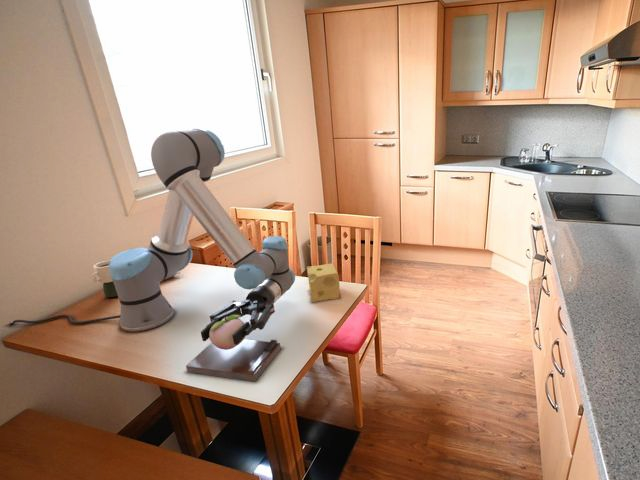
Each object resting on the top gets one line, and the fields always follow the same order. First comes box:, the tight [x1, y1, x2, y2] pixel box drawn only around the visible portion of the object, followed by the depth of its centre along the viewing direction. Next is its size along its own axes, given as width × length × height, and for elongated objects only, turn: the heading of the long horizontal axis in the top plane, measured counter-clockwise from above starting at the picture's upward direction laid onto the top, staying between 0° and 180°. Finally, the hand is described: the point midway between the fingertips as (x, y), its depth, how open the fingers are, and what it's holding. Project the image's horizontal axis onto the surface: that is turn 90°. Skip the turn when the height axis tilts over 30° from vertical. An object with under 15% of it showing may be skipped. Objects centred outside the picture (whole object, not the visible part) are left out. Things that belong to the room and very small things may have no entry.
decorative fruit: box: [208, 315, 246, 350], centre depth 100 cm, size 9×8×10 cm
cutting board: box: [185, 338, 282, 383], centre depth 104 cm, size 20×14×3 cm
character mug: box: [91, 259, 118, 298], centre depth 141 cm, size 11×7×13 cm, turn 159°
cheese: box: [306, 263, 340, 303], centre depth 137 cm, size 10×11×10 cm
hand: (218, 338), depth 96 cm, fingers closed on decorative fruit, 8 cm apart
